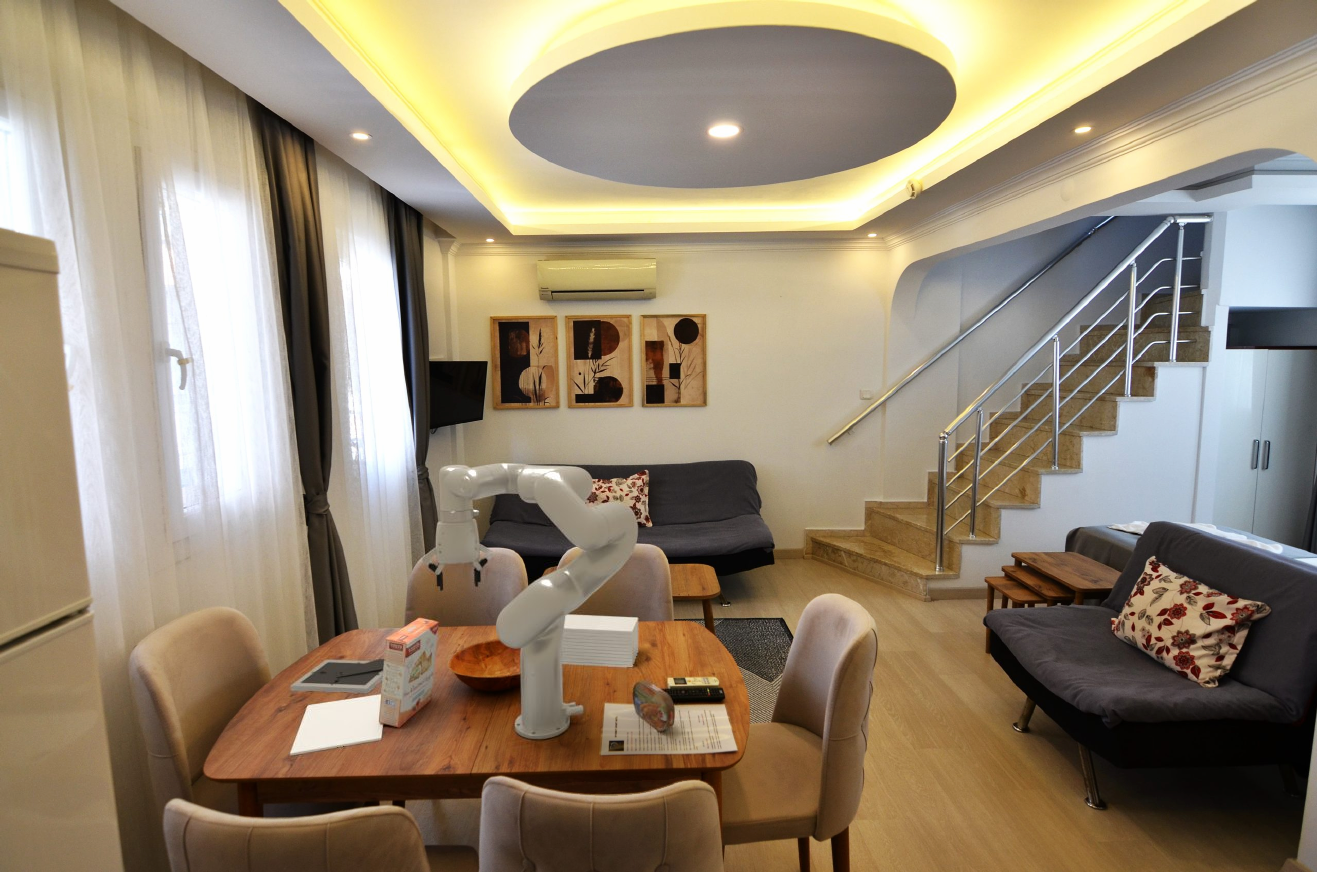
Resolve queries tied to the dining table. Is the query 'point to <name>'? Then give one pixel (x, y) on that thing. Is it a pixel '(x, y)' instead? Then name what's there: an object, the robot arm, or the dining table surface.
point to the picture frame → (342, 676)
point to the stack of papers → (600, 640)
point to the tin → (653, 705)
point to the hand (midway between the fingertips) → (459, 586)
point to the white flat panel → (339, 724)
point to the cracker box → (408, 671)
